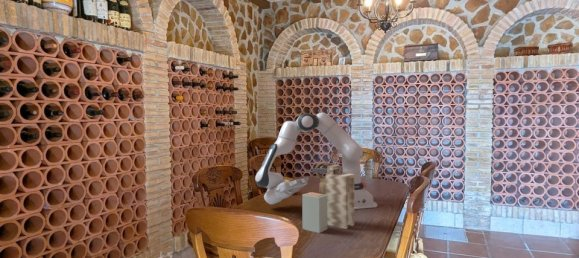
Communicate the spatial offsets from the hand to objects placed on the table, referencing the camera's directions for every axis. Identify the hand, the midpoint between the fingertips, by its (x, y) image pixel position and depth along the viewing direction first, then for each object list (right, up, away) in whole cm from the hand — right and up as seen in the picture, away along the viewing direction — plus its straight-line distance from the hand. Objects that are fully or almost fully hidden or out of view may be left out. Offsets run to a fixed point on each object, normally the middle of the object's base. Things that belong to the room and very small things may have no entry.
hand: (302, 179), depth 197 cm
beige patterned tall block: (+19, -21, -14) cm, 31 cm away
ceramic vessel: (+21, -19, +35) cm, 45 cm away
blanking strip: (+12, +5, -10) cm, 16 cm away
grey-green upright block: (+5, -21, -21) cm, 30 cm away
